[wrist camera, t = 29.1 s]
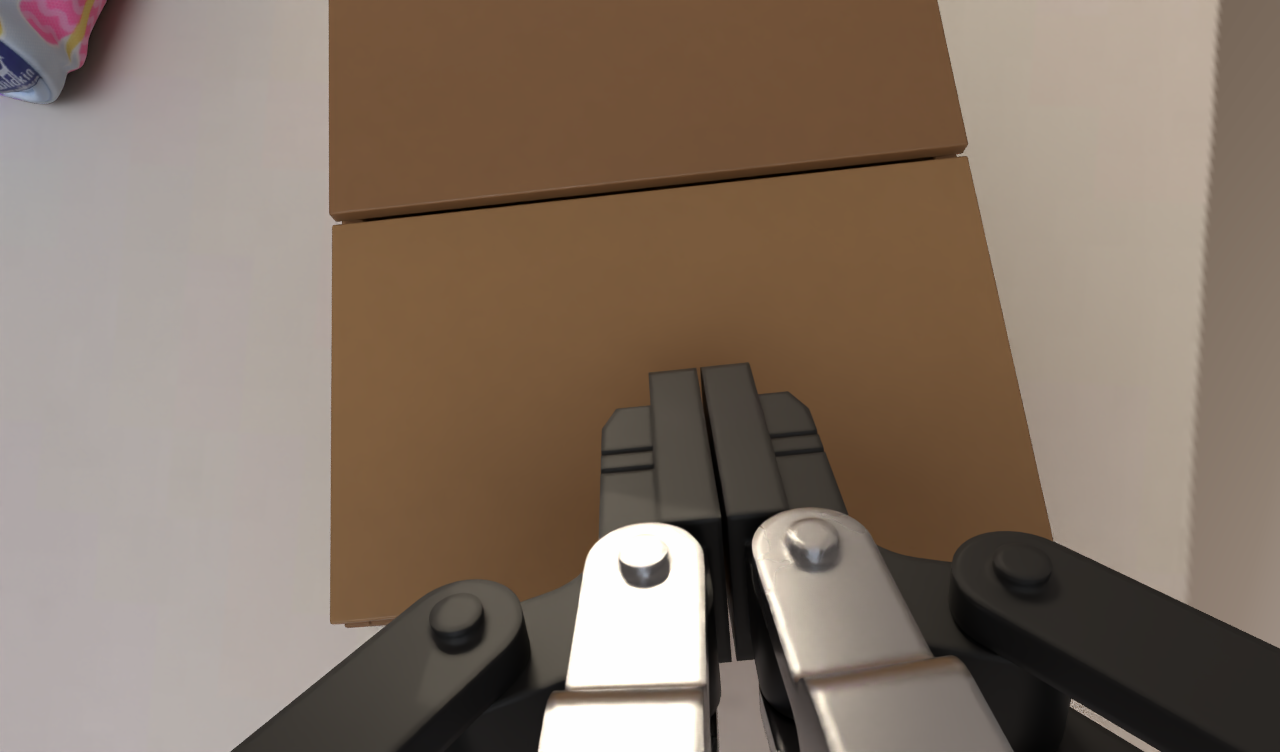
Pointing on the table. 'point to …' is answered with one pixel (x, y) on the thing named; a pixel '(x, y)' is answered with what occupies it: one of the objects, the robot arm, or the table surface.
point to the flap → (661, 366)
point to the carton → (622, 98)
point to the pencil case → (43, 45)
